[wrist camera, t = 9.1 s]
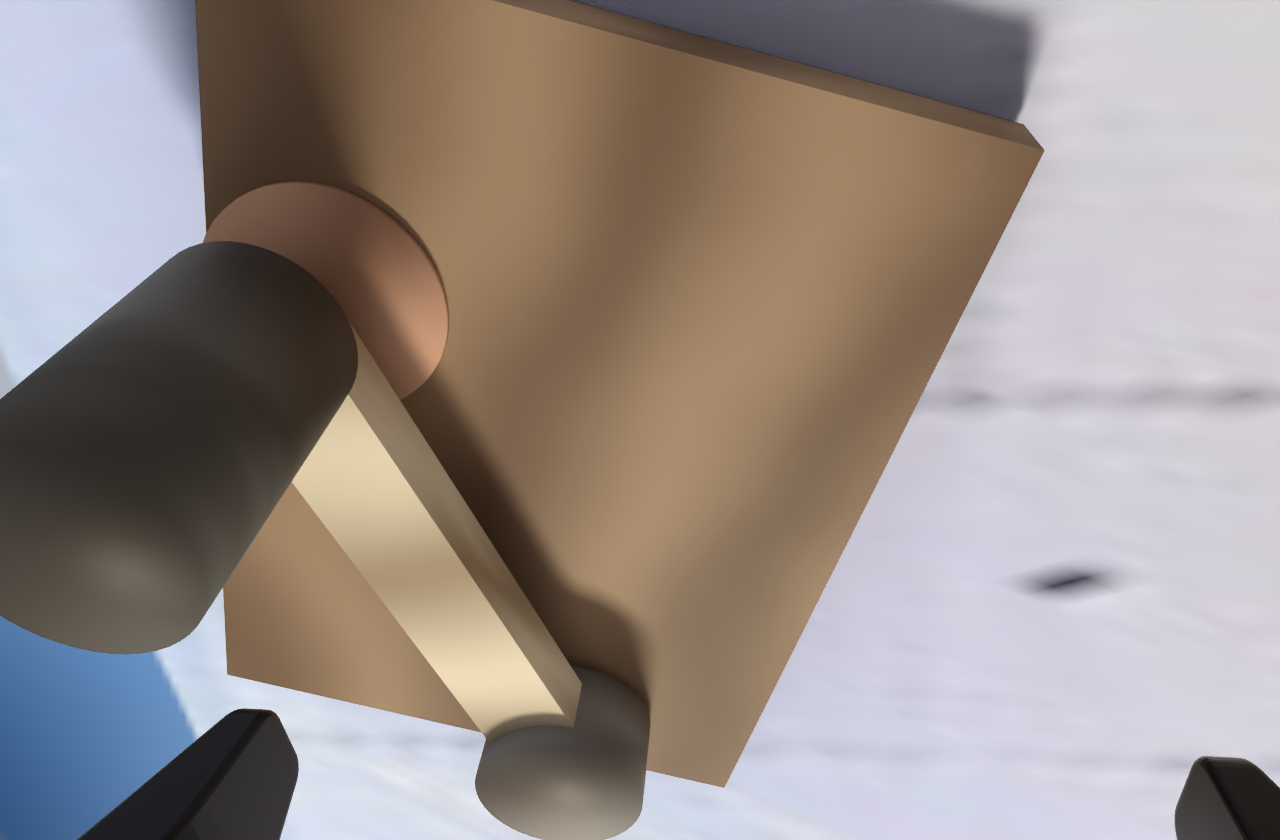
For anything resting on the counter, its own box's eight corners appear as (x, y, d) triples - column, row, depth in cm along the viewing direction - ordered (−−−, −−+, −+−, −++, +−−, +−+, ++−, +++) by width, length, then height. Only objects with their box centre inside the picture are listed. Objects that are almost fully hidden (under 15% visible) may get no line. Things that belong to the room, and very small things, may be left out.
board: (1023, 124, 17) (1047, 153, 16) (725, 744, 29) (724, 793, 27) (227, -94, 16) (178, -82, 15) (247, 634, 28) (220, 678, 27)
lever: (673, 753, 26) (650, 1058, 20) (537, 776, 28) (475, 1069, 21) (325, 172, 17) (83, 396, 11) (146, 246, 19) (-162, 485, 12)
